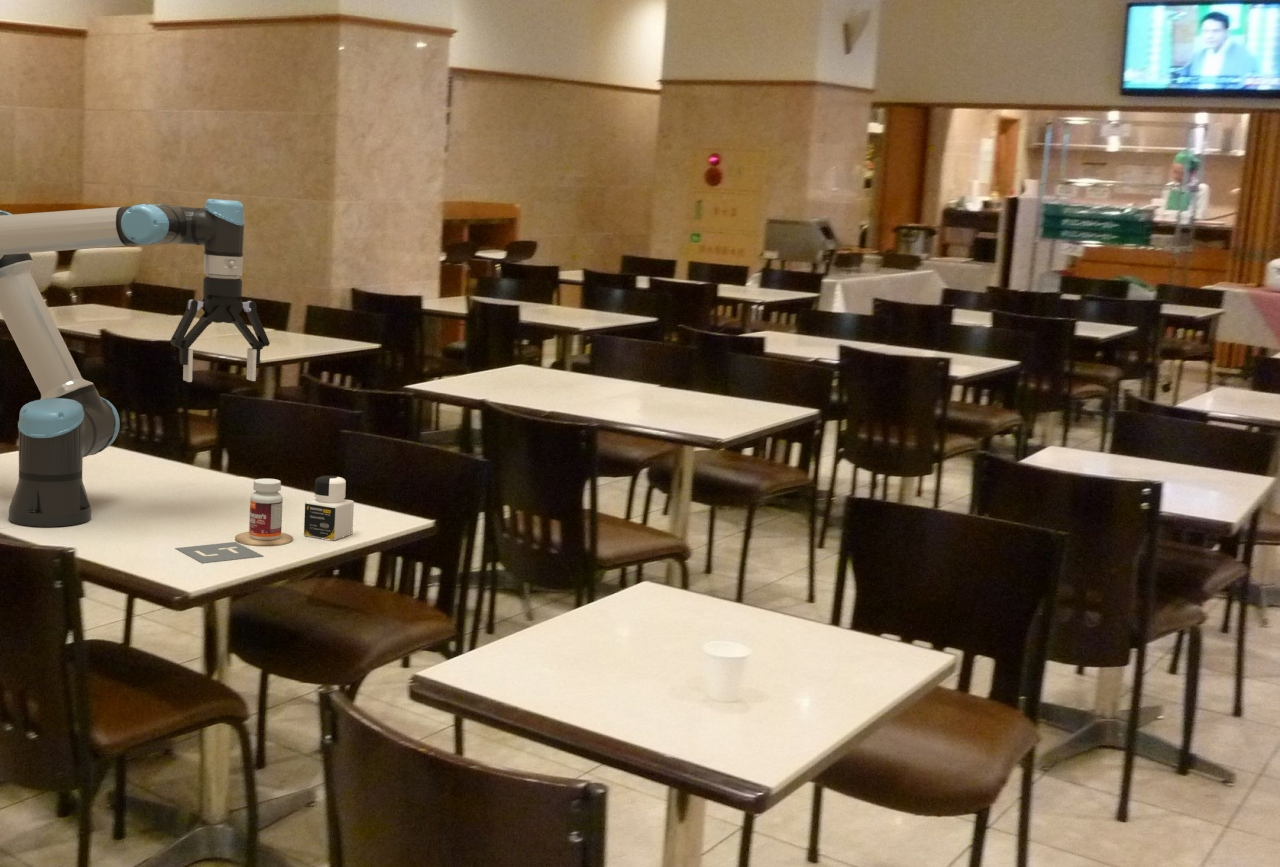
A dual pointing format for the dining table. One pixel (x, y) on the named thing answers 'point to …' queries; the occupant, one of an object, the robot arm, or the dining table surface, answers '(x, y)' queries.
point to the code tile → (219, 552)
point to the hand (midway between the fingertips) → (219, 380)
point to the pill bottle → (266, 510)
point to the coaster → (247, 540)
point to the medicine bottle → (329, 510)
